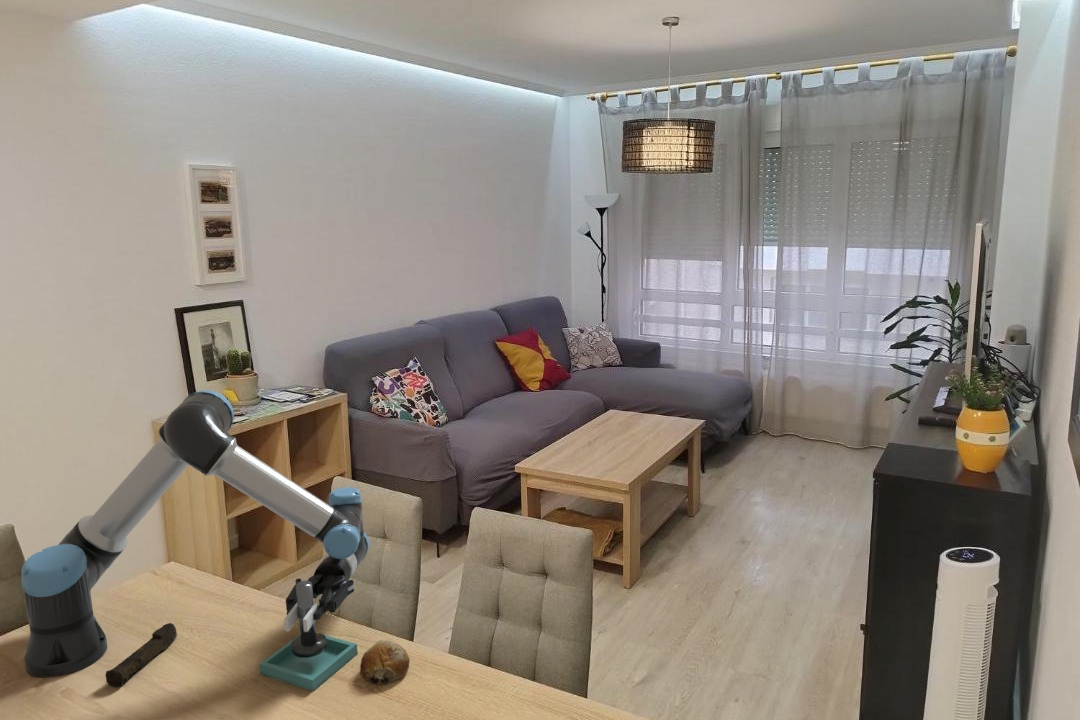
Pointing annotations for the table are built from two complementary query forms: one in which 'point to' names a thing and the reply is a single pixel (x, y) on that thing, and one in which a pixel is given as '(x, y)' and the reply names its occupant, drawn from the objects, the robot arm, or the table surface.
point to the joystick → (307, 641)
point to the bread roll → (384, 663)
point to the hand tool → (142, 655)
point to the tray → (308, 663)
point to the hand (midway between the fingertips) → (296, 625)
